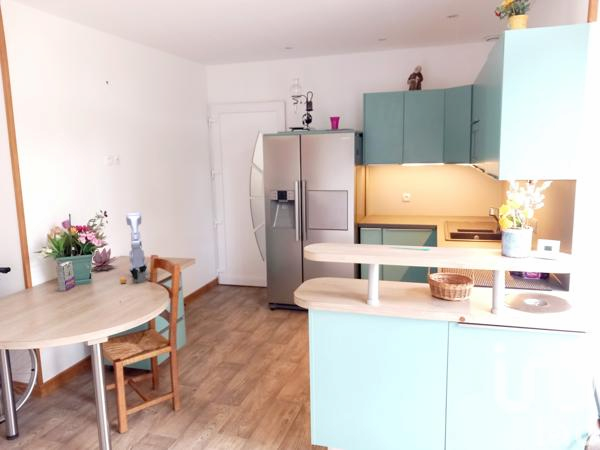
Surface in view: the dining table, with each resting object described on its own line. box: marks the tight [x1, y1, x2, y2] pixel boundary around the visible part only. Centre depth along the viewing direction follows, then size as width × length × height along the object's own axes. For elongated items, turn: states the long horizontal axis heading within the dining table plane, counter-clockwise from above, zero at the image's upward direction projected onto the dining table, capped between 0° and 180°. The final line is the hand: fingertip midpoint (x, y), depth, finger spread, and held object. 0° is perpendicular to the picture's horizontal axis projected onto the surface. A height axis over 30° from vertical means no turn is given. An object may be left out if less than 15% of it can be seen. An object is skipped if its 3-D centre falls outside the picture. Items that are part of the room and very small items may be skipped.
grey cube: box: [131, 271, 147, 284], centre depth 295 cm, size 6×6×6 cm
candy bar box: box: [55, 261, 76, 292], centre depth 282 cm, size 11×5×16 cm, turn 179°
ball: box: [119, 277, 127, 285], centre depth 292 cm, size 4×4×4 cm
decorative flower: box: [91, 247, 117, 272], centre depth 329 cm, size 21×21×15 cm
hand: (139, 278), depth 295 cm, fingers closed on grey cube, 6 cm apart
